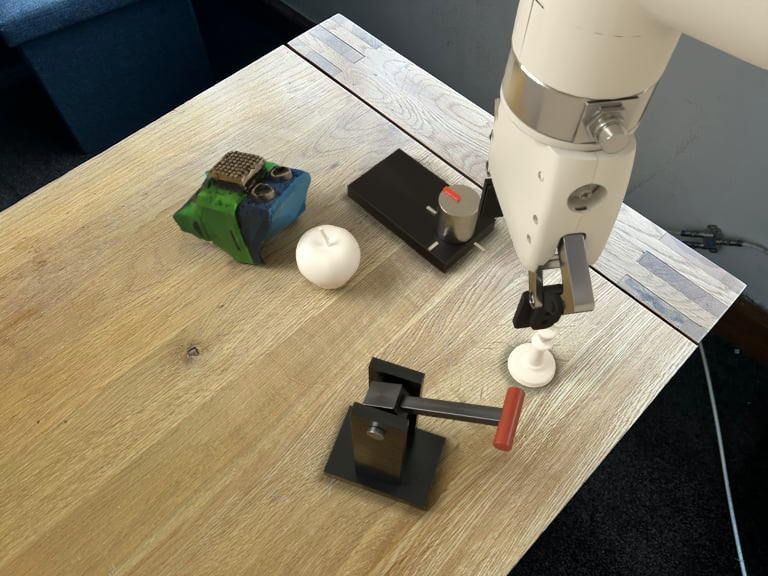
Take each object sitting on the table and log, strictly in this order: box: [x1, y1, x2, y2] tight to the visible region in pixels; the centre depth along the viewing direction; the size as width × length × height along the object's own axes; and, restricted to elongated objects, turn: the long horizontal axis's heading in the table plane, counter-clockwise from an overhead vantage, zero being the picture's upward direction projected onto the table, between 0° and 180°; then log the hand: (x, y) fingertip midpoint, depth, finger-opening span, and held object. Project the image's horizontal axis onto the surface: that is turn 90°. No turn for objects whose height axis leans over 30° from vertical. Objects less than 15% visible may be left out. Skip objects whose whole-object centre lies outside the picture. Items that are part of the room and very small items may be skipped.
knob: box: [435, 184, 481, 244], centre depth 74 cm, size 5×5×5 cm
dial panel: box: [346, 147, 497, 274], centre depth 79 cm, size 18×9×2 cm, turn 45°
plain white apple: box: [295, 224, 361, 290], centre depth 72 cm, size 7×7×8 cm
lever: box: [362, 381, 526, 452], centre depth 50 cm, size 12×4×2 cm, turn 71°
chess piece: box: [507, 321, 561, 388], centre depth 65 cm, size 5×5×10 cm
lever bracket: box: [322, 356, 447, 511], centre depth 57 cm, size 10×7×16 cm
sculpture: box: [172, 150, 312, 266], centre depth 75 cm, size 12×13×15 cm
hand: (515, 265), depth 48 cm, fingers open, 9 cm apart
